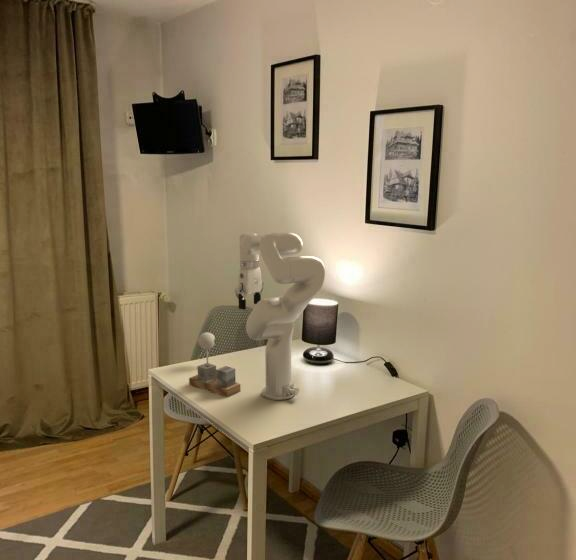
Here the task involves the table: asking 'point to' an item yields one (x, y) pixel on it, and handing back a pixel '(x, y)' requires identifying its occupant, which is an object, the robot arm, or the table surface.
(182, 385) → the table surface
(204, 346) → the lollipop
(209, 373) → the dice cube
